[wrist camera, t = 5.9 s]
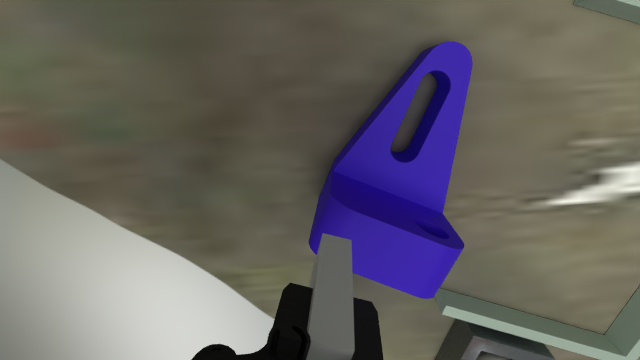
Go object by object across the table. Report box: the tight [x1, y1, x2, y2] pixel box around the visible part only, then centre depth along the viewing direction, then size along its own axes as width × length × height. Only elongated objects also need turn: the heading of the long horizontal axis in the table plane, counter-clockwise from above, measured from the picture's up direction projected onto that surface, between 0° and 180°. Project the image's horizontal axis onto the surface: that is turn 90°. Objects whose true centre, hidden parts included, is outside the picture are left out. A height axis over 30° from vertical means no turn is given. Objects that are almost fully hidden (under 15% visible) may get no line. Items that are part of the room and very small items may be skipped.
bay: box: [435, 0, 640, 360], centre depth 30 cm, size 32×21×3 cm, turn 165°
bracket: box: [309, 42, 472, 298], centre depth 26 cm, size 18×11×12 cm, turn 159°
